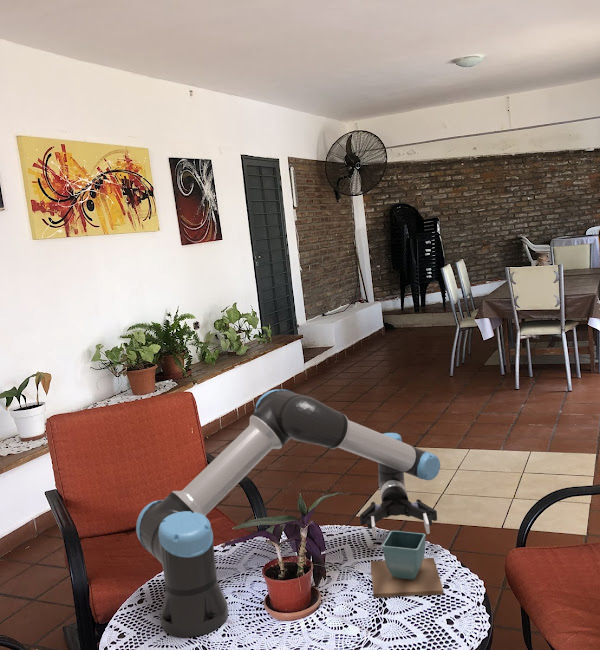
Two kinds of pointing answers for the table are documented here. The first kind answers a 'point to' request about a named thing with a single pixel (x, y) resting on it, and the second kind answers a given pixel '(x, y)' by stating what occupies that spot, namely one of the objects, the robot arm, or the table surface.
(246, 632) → the table surface
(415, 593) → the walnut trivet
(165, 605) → the robot arm
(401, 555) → the flower pot
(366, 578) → the table surface
